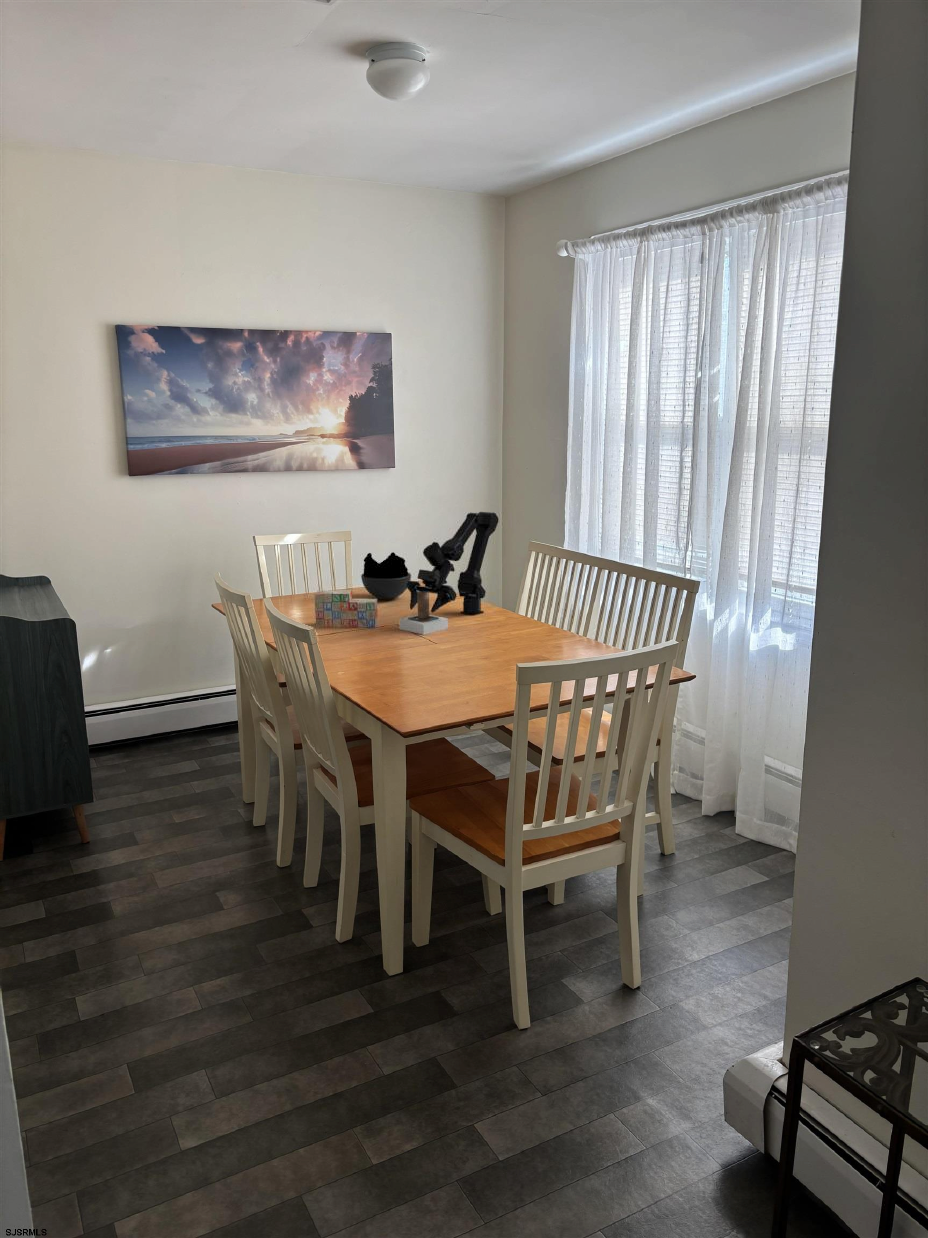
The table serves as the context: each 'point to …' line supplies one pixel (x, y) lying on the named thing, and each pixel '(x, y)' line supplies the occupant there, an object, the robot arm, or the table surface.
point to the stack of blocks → (344, 610)
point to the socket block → (423, 624)
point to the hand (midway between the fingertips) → (421, 610)
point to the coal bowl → (385, 576)
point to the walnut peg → (423, 605)
